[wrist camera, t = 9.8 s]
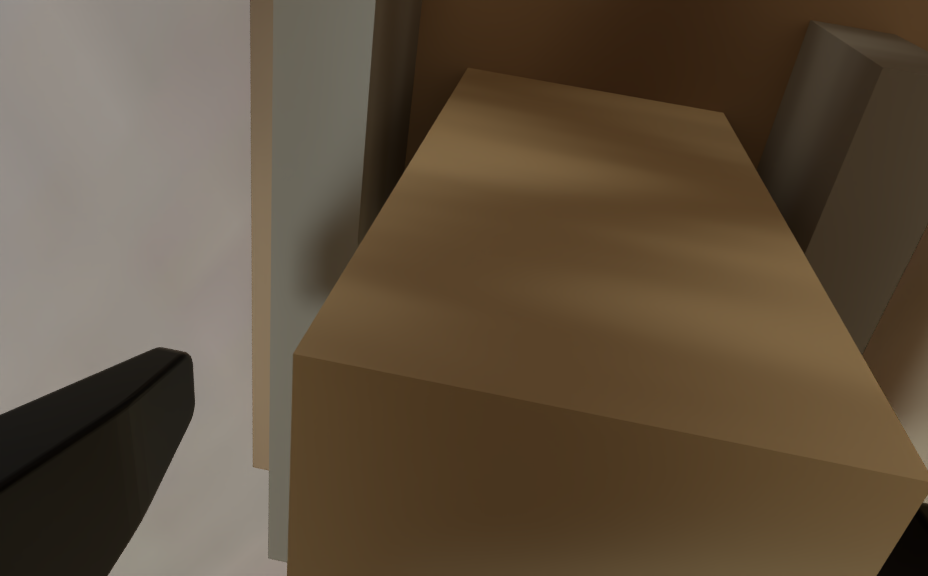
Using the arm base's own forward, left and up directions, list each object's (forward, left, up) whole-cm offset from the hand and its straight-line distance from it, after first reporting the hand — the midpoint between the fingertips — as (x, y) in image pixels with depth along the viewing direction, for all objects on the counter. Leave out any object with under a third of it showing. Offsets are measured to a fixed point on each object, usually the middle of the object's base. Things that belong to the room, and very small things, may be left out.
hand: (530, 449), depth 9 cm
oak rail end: (0, 0, -4) cm, 5 cm away
